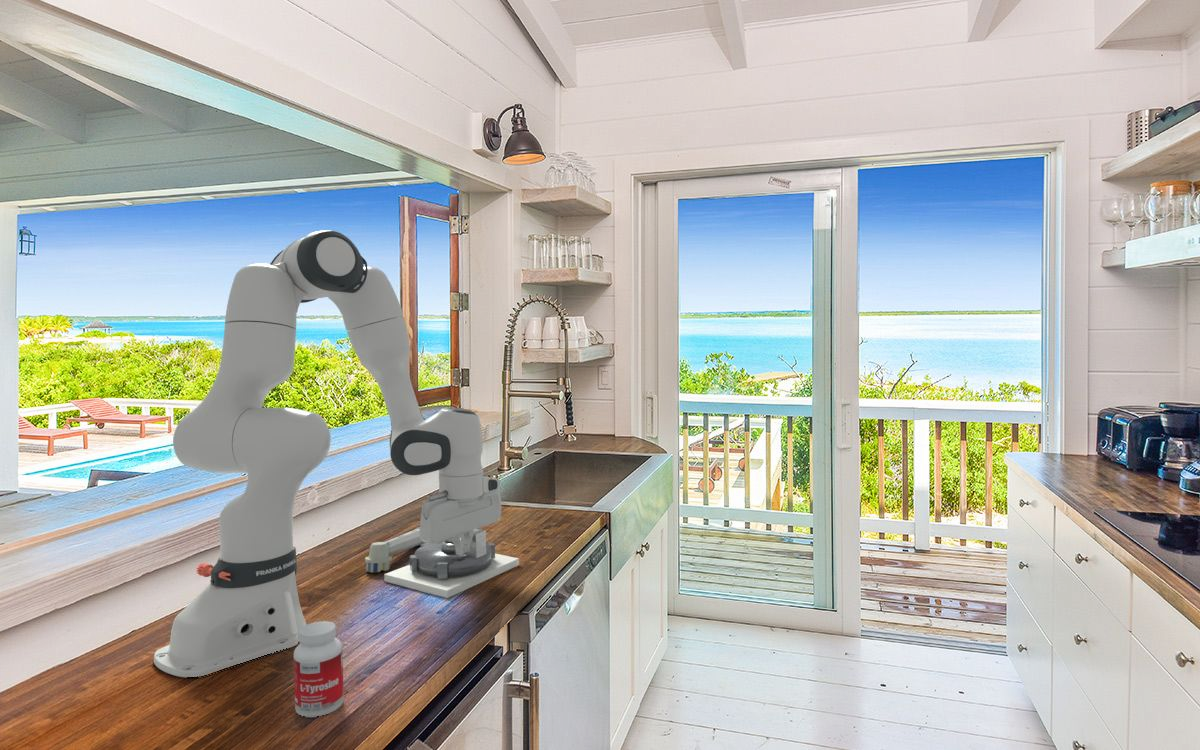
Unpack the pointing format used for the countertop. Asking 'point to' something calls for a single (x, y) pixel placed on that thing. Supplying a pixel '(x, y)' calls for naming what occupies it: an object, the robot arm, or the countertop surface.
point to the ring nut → (453, 557)
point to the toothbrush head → (390, 550)
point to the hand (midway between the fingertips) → (462, 553)
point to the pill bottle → (318, 670)
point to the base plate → (449, 578)
